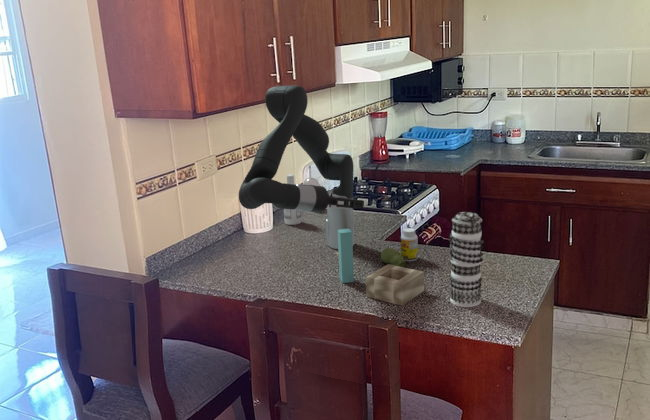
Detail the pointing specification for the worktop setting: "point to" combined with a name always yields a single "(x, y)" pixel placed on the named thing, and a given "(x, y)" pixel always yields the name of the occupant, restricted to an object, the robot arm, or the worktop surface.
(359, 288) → the worktop surface
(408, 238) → the supplement bottle
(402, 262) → the pear
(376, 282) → the socket block
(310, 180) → the cup with straw
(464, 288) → the decorative candle
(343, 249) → the peg
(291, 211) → the bath foam
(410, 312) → the worktop surface
